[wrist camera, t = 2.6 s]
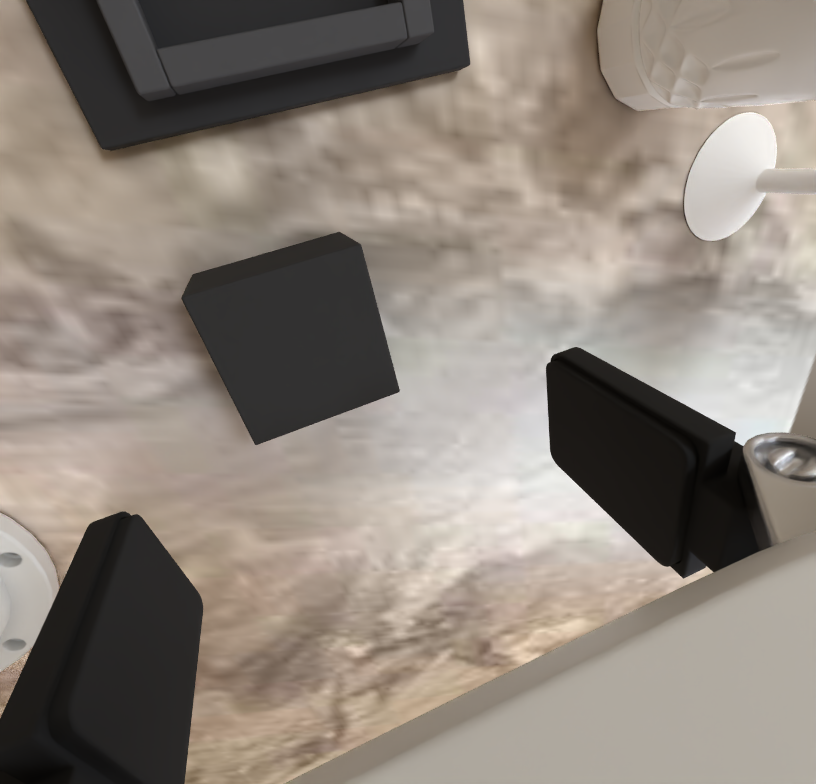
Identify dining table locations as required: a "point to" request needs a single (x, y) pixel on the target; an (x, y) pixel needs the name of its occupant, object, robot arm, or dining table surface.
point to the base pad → (238, 57)
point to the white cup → (708, 52)
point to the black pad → (294, 334)
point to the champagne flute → (738, 177)
